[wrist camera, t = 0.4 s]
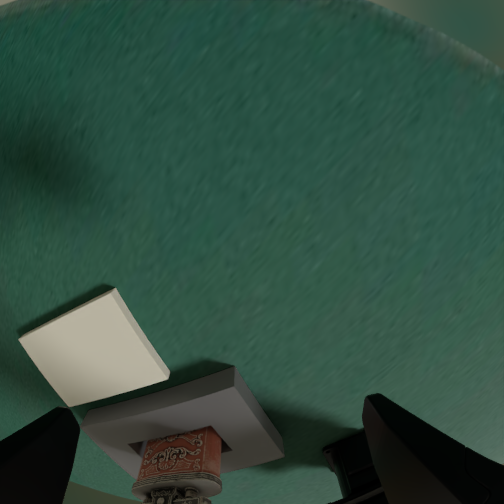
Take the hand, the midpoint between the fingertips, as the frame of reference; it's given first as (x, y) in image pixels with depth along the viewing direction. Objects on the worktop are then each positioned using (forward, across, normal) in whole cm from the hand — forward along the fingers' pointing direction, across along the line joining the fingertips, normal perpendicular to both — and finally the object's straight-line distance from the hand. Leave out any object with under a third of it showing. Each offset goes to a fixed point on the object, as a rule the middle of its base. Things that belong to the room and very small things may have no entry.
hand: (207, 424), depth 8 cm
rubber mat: (+14, +13, +6) cm, 20 cm away
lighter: (+14, +6, +15) cm, 22 cm away
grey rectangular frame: (+14, +6, +15) cm, 22 cm away
